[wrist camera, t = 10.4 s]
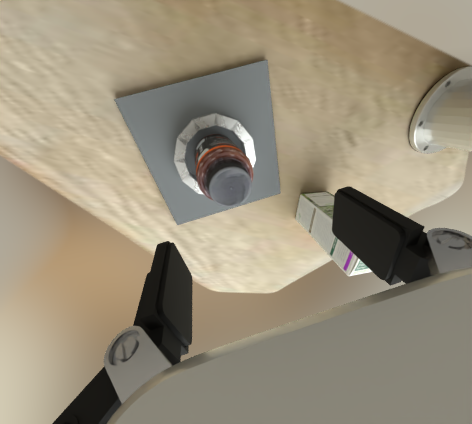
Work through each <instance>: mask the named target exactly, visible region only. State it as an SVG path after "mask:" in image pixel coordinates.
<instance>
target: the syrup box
mask: <svg viewBox="0 0 472 424" xmlns="http://www.w3.org/2000/svg"><path fill="white" fill-rule="evenodd" d="M333 208H334V195H332V194H331V193H329V192H316V193H306V194H301V195H300V198H299V203H298V208H297V213H296V218H295V219H296V220H297V222H298V223H299V224H300V225H301V226H302V227H303V228H304V229H305V230H306V231H307V232H308V233H309V234H310V235H311V236H312V237H313V238H314V240H315V241H316V242H317V243H318V244H319V245H320V246H321V247H322V248H323V249H324V250H325V252H326V253H327V254H328V255H329V256H330V257H331V258H332V259H333V260H334V261H335V262H336V264H337V265H338V266H339V267H340V268H341V269H342V270H343V271H344V272H345V273H346V274H347V275H348V276H352V275H357V274H362V273H367V272H372V271H371V270H370V269H369V268H368V267H367V266H366V265H365V264H364V263H363V262H362V261H361V260H360V259H359V258H358V257H357V256H356V255H355V254H353V253H352V252H351V251H350V250H349V249H348V248H347V247H346V246H345V245H344V244H343V243H342V242H341V241H340V240H339V239H338V238H337V237H336V236H335V235H334V234H333V232H332V220H333Z"/></svg>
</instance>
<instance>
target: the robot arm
mask: <svg viewBox="0 0 472 424" xmlns="http://www.w3.org/2000/svg"><path fill="white" fill-rule="evenodd" d="M409 140H410V144H411V146H412V147H413V149H414V150H416V151H418V152H421V153H427V154H430V153H435V152H438V151H441V150H443V149H445V148H446V147H448V148H454V149H459V150H465V151H471V152H472V66H469V67H463V68H459V69H456V70H455V71H453V72H451V73H449V74H448V75H446V76H445V77H443V78H442V79H441V80H440V81H439V82H438V83H436V84H435V85H434V86H433V88H432V89H431V90H430V91H429V92H428V93H427V94H426V96H425V97H424V99H423V100H422V101H421V103H420V105H419V106H418V108H417V110H416V112H415V114H414V117H413V119H412V122H411V126H410V131H409ZM423 229H424V226H422V225H420V224H418V223H416V222H414V221H413V220H411V219H409V218H407V217H405V216H403V215H402V214H400V213H398V212H396V211H394V210H392V209H391V208H389V207H387V206H385V205H383V204H381V203H380V202H378V201H376V200H374V199H372V198H370V197H368V196H367V195H365V194H363V193H361V192H359V191H357V190H356V189H354V188H352V187H345V188H342V189H339V190H337V193H335V196H334V208H333V220H332V232H333V234H334V235H335V236H336V237H337V238H338V239H339V240H340V241H341V242H342V243H343V244H344V245H345V246H346V247H347V248H348V249H349V250H350V251H351V252H352V253H353V254H355V255H356V256H357V257H358V258H359V259H360V260H361V261H362V262H363V263H364V264H365V265H366V266H367V267H368V268H369V269H370V270H371V271H372V272H373V273H375V274H376V275H377V276H378V277H379V278H380V279H382V280H385V281H386V282H387V283H388V284H389V285H393V284H396V283H399V282H401V280H402V281H403V282H405V283H406V284H404V285H401V286H398V287H395V288H393V289H389V290H386V291H383V292H380V293H377V294H374V295H371V296H368V297H365V298H362V299H359V300H356V301H353V302H350V303H347V304H344V305H341V306H338V307H335V308H332V309H329V310H326V311H323V312H320V313H317V314H314V315H311V316H308V317H305V318H302V319H299V320H296V321H293V322H290V323H287V324H285V325H282V326H279V327H276V328H273V329H270V330H267V331H264V332H261V333H258V334H255V335H252V336H250V337H246V338H244V339H241V340H238V341H235V342H232V343H229V344H227V345H224V346H221V347H218V348H215V349H213V350H210V351H207V352H204V353H202V354H199V355H196V356H194V357H191V358H189V359H187V360H184V361H182V362H180V357H181V355H184V354H187V353H188V345H190V344H191V342H192V276H191V273H190V271H189V270H188V268H187V266H186V264H185V262H184V260H183V259H182V257H181V255H180V253H179V251H178V250H177V248H176V246H175V244H174V243H170V242H169V241H167V242H163V243H160V244H158V245H157V247H156V251H155V255H154V260H153V263H152V267H151V271H150V272H149V273H148V274H147V277H146V280H145V284H144V287H143V291H142V295H141V299H140V302H139V306H138V310H137V314H136V317H135V321H134V325H133V326H131V327H128V328H126V329H125V330H123V331H122V332H121V333H119V334H118V335H117V336H116V337H115V338H114V339H113V340H112V342H111V344H110V345H109V346H108V348H107V351H106V353H105V357H104V367H103V369H102V370H101V371H100V372H99V373H98V374H97V375H96V376H95V377H94V378H93V380H92V381H91V382H90V383H89V384H88V385H87V386H86V387H85V388H84V389H83V391H82V392H81V393H80V394H79V395H78V396H77V397H76V398H75V399H74V401H73V402H72V403H71V404H70V405H69V406H68V407H67V408H66V409H65V410H64V411H63V413H62V414H61V415H60V416H59V417H58V418H57V419H56V420H55V421H54V423H53V424H472V236H470V235H468V234H466V233H464V232H461V231H457V230H454V229H448V228H435V229H431V230H429V231H428V232H427V233H425V232H423Z"/></svg>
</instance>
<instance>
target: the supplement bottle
mask: <svg viewBox="0 0 472 424" xmlns="http://www.w3.org/2000/svg"><path fill="white" fill-rule="evenodd" d="M195 168H196V169H195V170H196V179H197V183H198V186H199V188H200V190H201V191H202V193H203V194H204V195H205V196H206V197H207V198H209V199H211V200H213V201H214V202H215V203H217V204H218V205H220V206H223V207H234V206H238V205H239V204H241V203H243V202H244V201H245V200H246V199H247V198H248V197H249V195H250V193H251V190H252V181H253V167H252V164H251V162H250V160H249V158H248V157H247V156H246V155H245V154H244V153H243V152H242V151H241V150H240V149H239V148H238V147H237V146H236V145H235V144H234V143H233V142H232V141H231V140H230V139H229V138H228V137H226V136H224V135H220V134H211V135H208V136H206V137H204V138H203V139H202V140H201V141H200V142H199V143H198V145H197V147H196V150H195Z"/></svg>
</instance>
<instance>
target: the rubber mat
mask: <svg viewBox="0 0 472 424" xmlns="http://www.w3.org/2000/svg"><path fill="white" fill-rule="evenodd" d="M114 100H115V102H116V104H117V106H118V108H119V110H120V112H121V114H122V116H123V118H124V120H125V122H126V124H127V126H128V128H129V130H130V132H131V134H132V136H133V138H134V140H135V142H136V144H137V146H138V148H139V150H140V152H141V154H142V156H143V158H144V160H145V162H146V164H147V166H148V168H149V170H150V172H151V174H152V176H153V178H154V180H155V182H156V184H157V186H158V188H159V190H160V192H161V194H162V196H163V198H164V200H165V202H166V204H167V206H168V207H169V209H170V211H171V213H172V215H173V217H174V219H175V221H176V223H177V225H180V224H183V223H186V222H189V221H193V220H196V219H199V218H202V217H206V216H209V215H212V214H215V213H218V212H222V211H225V210H228V209H231V208H235V207H238V206H241V205H244V204H247V203H251V202H254V201H257V200H260V199H264V198H267V197H270V196H273V195H277V194H280V193H281V192H280V182H279V172H278V162H277V152H276V142H275V132H274V122H273V112H272V101H271V91H270V81H269V71H268V61H267V60H264V61H260V62H256V63H252V64H248V65H245V66H241V67H237V68H233V69H229V70H225V71H221V72H218V73H214V74H210V75H206V76H202V77H198V78H194V79H191V80H187V81H183V82H179V83H175V84H171V85H167V86H164V87H160V88H156V89H152V90H148V91H144V92H140V93H137V94H133V95H129V96H125V97H121V98H117V99H114ZM211 113H217V114H220V115H223V116H226V117H229V118H232V119H235V120H237V121H239V122H240V124H241V125H242V126H243V127H244V129H245V130H246V131H247V132H248V133H249V135H250V136H251V137H252V139H253V145H254V151H255V157H256V160H255V163H254V166H253V181H252V190H251V193H250V195H249V197H248V198H247V199H246V200H245V201H244V202H243V203H241V204H239V205H238V206H234V207H223V206H220V205H218V204H217V203H215V202H214V201H213V200H211V199H209V198H207V197H206V196H205V195H203V194H198V193H197V192H196V191H194V190H193V189H192V188H190V187H189V186H188V185H187V184H185V183H184V182H183V181H182V179H181V177H180V175H179V172H178V170H177V167H176V165H175V163H174V156H175V149H176V142H177V137H178V135H179V134H180V132H181V131H182V130H183V129H184V128H185V127H186V125H187V124H188V123H189V122H190V121H191V120H192V118H196V117H200V116H203V115H207V114H211ZM211 134H220V135H224V136H226V137H228V138H229V139H230V140H231V141H232V142H233V143H234V144H235V145H236V146H237V147H238V148H239V149H240V150H241V151H242V146H241V141H240V139H239V138H238V137H237V136H236V135H235V134H234V133H233V131H232V130H230V129H227V128H224V127H220V126H217V125H215V126H211V127H208V128H204V129H201V130H198V131H197V133H196V134H195V135H194V136H193V137H192V138H191V139H190V141H189V142H188V143H187V146H186V152H185V160H186V162H187V165H188V168H189V170H190V172H191V173H192V174H194V175H195V176H196V170H195V169H196V168H195V150H196V147H197V145H198V143H199V142H200V141H201V140H202V139H203V138H204V137H206V136H208V135H211ZM242 152H243V151H242Z"/></svg>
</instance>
